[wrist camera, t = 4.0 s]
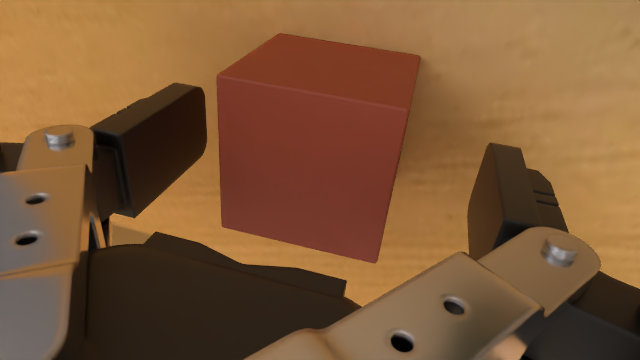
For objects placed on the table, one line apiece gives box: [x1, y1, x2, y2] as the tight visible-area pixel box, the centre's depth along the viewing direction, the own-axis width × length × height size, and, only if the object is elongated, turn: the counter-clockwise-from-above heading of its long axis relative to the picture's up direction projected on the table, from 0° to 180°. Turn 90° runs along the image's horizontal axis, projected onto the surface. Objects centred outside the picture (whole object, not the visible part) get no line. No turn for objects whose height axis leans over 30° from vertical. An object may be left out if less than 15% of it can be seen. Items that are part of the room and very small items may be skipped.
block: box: [217, 34, 420, 263], centre depth 12 cm, size 4×4×4 cm
